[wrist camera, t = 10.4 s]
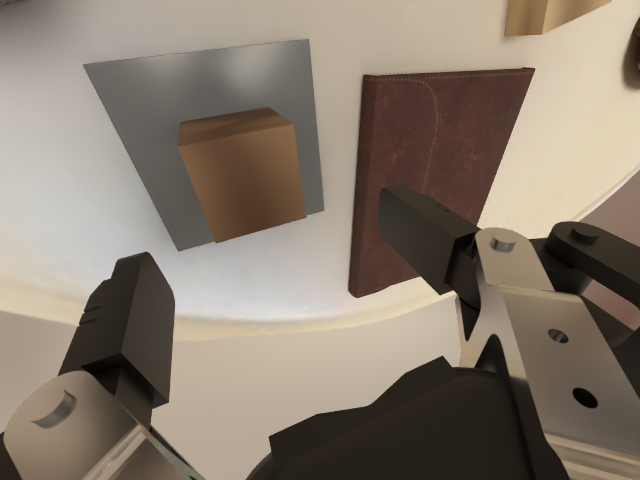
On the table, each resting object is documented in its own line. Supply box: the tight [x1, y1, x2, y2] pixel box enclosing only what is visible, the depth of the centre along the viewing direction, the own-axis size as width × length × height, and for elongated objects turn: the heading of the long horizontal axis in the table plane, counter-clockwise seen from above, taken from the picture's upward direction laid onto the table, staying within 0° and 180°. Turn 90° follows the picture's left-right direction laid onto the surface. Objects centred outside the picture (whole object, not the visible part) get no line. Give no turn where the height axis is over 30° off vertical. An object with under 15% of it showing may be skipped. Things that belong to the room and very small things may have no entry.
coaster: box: [83, 39, 324, 251], centre depth 17 cm, size 11×11×1 cm
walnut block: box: [177, 107, 306, 243], centre depth 15 cm, size 5×5×5 cm
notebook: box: [349, 67, 535, 298], centre depth 25 cm, size 15×20×2 cm
